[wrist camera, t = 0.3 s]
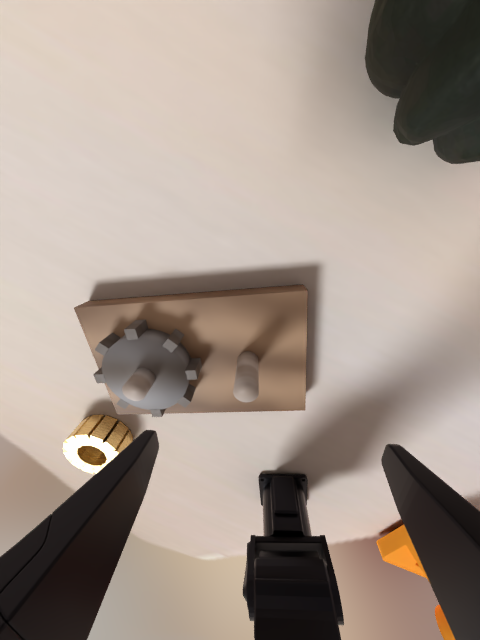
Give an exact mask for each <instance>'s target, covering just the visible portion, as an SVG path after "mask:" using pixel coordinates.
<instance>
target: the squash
mask: <svg viewBox="0 0 480 640" xmlns="http://www.w3.org/2000/svg"><path fill="white" fill-rule="evenodd" d="M365 62H366V69H367V73H368V76H369V78H370V80H371V82H372V84H373V85H374V86H375V87H376V88H377V89H378V90H379V91H380V92H381V93H382V94H384V95H385V96H389V97H392V98H400V99H399V102H398V104H397V108H396V113H395V118H394V130H393V131H394V133H395V135H396V137H397V139H398V141H399V142H400V143H403V144H408V145H417V144H421V143H424V142H426V141H429V140H432V139H433V143H434V151H435V152H436V154H437V155H438V157H440V158H441V159H443V160H444V161H446V162H449V163H451V164H461V163H468V162H475V161H480V0H375V4H374V7H373V11H372V14H371V19H370V24H369V30H368V39H367V48H366V55H365Z"/></svg>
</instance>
